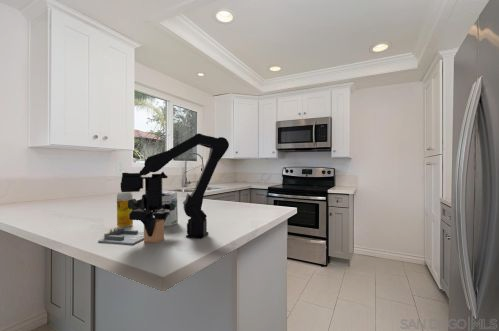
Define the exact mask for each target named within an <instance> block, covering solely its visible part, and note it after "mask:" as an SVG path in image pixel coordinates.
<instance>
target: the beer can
mask: <svg viewBox="0 0 499 331" xmlns="http://www.w3.org/2000/svg"><path fill="white" fill-rule="evenodd" d="M131 199H134V198H133V192H121V191H119V192H117V194H116V226H117V227H119V229H120V228H124V229H126V228H130V227H132V225H133V224H134V220H129V213H130V212H131V211H132V209H129V208H128V200H131Z"/></svg>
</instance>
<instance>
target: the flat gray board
mask: <svg viewBox="0 0 499 331" xmlns="http://www.w3.org/2000/svg"><path fill="white" fill-rule="evenodd" d="M142 241H144V231H139V230H137V229H126V228H119V227H118V226H117V228H116V227H113V229H112V228H111V229H109V232H105V233H104V236H103V238H101V239H99V240H98V241H97V243H103V244H114V245H115V244H116V245H129V246H135V245H136V244H138V243H140V242H142Z"/></svg>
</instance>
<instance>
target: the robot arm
mask: <svg viewBox="0 0 499 331" xmlns="http://www.w3.org/2000/svg"><path fill="white" fill-rule="evenodd" d="M197 146H202V147H204V148H207V149H208V148H209V152H208V158H207V160H206V163H205V164H204V168H203V170H202V172H201V174H200V176H199V178H198V181H197V183H196V185H195V187H194V189H193V191H192V193H191V194H190V193H187V194H186V198H185V200H184V201H183V202H182V204H183V211H184V213H185V215H186V216H187V217H188V218H189V219H188V220H187V223H186V235H185V237H186V238H190V239H191V238H194V239H203V238H204V237H206V236H207V235H208V234H209V231H207V229H208V228H207V224H208V223H207V221H208V220H207V217H208V216H207V214H206V213H205V211H204V210H202V206H203V201H204V195H205V193H206V190H207V188H208V185H209V184H210V182H211V180H212V177H213V174H214V172H215V170H216V169H217V166H218V163H219V162H220V160H221V159H222V157H224V155H225V153H226V152H227V151H228V149H229V146H230V144H229V141H228V139H227V138H226V137H224V136H223V137H222V136H220V137H215V136H212V135H211V136H210V135H205V134H203V133H196V134H195V135H193V136H191V137H190V138H188V139H186V140H184V141H183V142H180V143H178V144H177V145H175V146H173V147H171V148H169V149H168V150H165V151H162V152H159V153H155V154H153V155H150V156H148V157H147V158H146V159H145V160H144V164H143V165H144V166H143V167H142V168H141V169H140V171H139V172H122V174H121V182H120V192H132V193H136V192H138V193H139V192H141V189H142V190H143V189H144V187H145V189H144V190H145V191H144V193H143V194H142V195H141V199H138V200H137V199H136V198H133V199H131V200H128V208H129V209H132V211H131V212H130V213H129V220H133V221H140V222H141V223H142V224H143V227H144V226H145V229H146V231H147V234H148V236H149V237H151V236H152V234H153V230H154V226H155V222H156V219H163V220H164V222H165V220H166V218H167V216H168V214H170V212H167V210H170V211H172V210H175V205H174V204H173V203H168V202H162V197H163V196H165V192H163V179H168V175H167V174H166V173H165V172H164V171H161V172H160V173H157V172H159V171H160V170H161V169H163V168H164V167H165V166H166V165H167V164H169V163H170V162H171V161H173V160H174V159H176V158H177V157H180V156H181V155H182V154H184V153H186V152H189V151H190V150H192V149H193V148H195V147H197ZM151 173H152V174H151ZM148 174H151V176H148ZM144 184H145V185H144ZM166 209H167V210H166Z"/></svg>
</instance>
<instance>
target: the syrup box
mask: <svg viewBox="0 0 499 331" xmlns="http://www.w3.org/2000/svg"><path fill="white" fill-rule="evenodd" d="M164 193H165V196H163V197H162V202H168V203H173V204H174V205H175V210H172V211H170V210H167V209H166V210H167V212H170V214H168V216H167V218H166V220H165V222H164V227H172V226H174V225H176V224H178V221H179V220H178V217H179V216H178V192H177V191H166V192H164Z"/></svg>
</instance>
